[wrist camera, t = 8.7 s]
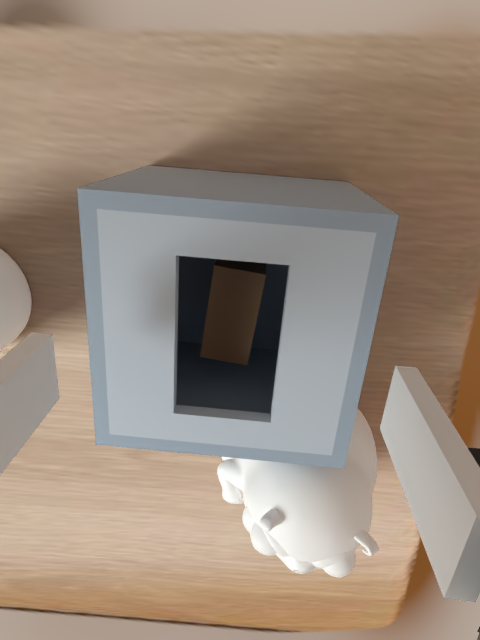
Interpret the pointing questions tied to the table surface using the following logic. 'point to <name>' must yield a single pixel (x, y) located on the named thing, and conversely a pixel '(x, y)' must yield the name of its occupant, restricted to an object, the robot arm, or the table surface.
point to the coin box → (192, 302)
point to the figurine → (308, 506)
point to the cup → (12, 300)
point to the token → (232, 310)
